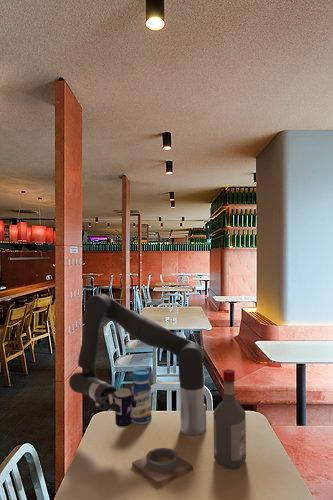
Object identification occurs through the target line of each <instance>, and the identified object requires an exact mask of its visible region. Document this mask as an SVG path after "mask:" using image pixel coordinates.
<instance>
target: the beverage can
mask: <svg viewBox="0 0 333 500" xmlns="http://www.w3.org/2000/svg"><path fill="white" fill-rule="evenodd" d="M131 393H132V391H131V388H127V387H121V388H118V389H116V394H115V404H117V405H119V406H120V413H117V412H115V411H114V415H115V416H114V417H115V425H116V426H117V427H118V428H119V429H126V428H129V427H130V426H131V425H132V423H133V421H132V394H131Z"/></svg>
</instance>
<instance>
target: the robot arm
mask: <svg viewBox="0 0 333 500" xmlns="http://www.w3.org/2000/svg"><path fill="white" fill-rule="evenodd" d="M103 318H107V319H108V320H111V321H113V322H114V323H116V324H118V325H119V326H120V327H121V328H122V329H123V330H125V332H126V333H127V334H129V336H130V337H133V338H135V340H138V341H140V342H141V343H143V344H145V345H148V346H149V347H154V348H158V349H160V350H166V351H168V352H170V353H171V354H173V355H175V356H177V358H178V379H179V391H180V392H179V399H180V400H179V403H180V405H179V406H180V407H179V408H180V410H179V411H180V415H179V417H180V418H179V419H180V431H181V433H182V434H184V435H187V436H199V435H202V434H203V433H205V431H206V429H207V405H206V404H205V387H204V386H205V379H204V357H205V352H204V350H203V347H202V346H201V345H200V344H198V343H197V342H194V341H192V340H189V339H187V338H185V337H182V336H179V334H178V335H177V334H175V333H174V332H172V331H171V330H170V329H167V328H166V327H164V326H162V325H160V324H158V323H156V322H155V321H154V320H152V319H150V318H147V317H146V316H144V315H142V314H140V313H138V312H136V311H134V310H133V309H129V308H128V307H125V306H123V305H122V304H121V303H119V302H118V301H116V300H115V299H113V297H110V296H109V295H107V294H105V293H96V294H94V295H91V296H90V297H88V298H87V300H86V301H85V304H84V322H83V324H84V325H83V333H82V340H81V344H80V351H79V354H78V359H77V365H78V367H80V368H81V369H84V370H86V371H83V372H82V371H81V372H75V373H73V374H71V376H70V377H69V380H68V383H69V387H70V389H71V390H72V391H73V392H75V393H78V394H80V395H81V394H82V395H87V397H90V398H91V399H92V400H93V401H94V402H95V408H97V409H100V410H102V411H104V412H108V410H109V411H113V412H114V413H115V412H117V413H120V406H119V405H117V404H115V394H116V390H117V388H116V387H115V386H113V385H112V384H109V383H108V382H106V381H103V380H101V379H98V378H97V372H96V370H97V369H96V362H97V358H98V354H99V353H98V351H99V343H100V342H99V333H100V326H101V323H102V320H103ZM131 394H132V392H131ZM132 407H133V408H135V407H136V401H135V400H134V395H133V394H132Z"/></svg>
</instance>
